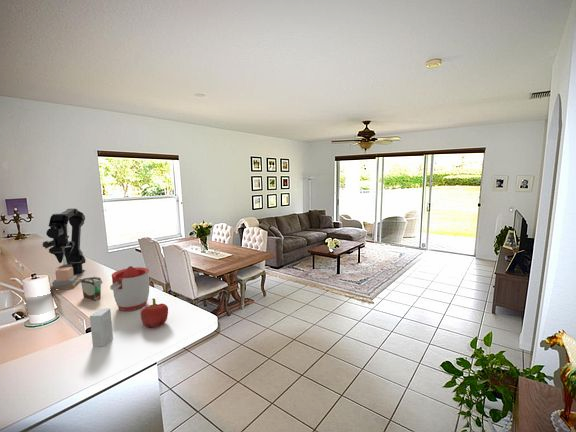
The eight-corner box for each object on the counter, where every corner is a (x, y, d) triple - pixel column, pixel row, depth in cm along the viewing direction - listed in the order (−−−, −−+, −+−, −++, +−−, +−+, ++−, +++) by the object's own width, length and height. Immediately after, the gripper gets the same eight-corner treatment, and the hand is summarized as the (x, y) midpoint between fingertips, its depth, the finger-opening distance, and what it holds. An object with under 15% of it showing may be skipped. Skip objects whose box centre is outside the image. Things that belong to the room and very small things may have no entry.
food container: (108, 297, 144) (107, 278, 142) (96, 301, 138) (94, 282, 137) (94, 293, 149) (92, 275, 148) (81, 297, 143) (80, 278, 142)
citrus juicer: (102, 311, 128) (99, 269, 125) (135, 297, 144) (133, 260, 141) (126, 317, 122) (123, 274, 120) (158, 302, 138) (155, 263, 136)
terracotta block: (61, 277, 160) (60, 267, 159) (73, 276, 162) (72, 266, 161) (56, 281, 154) (55, 271, 154) (69, 280, 156) (68, 270, 155)
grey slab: (58, 281, 161) (58, 277, 161) (77, 279, 165) (76, 275, 164) (52, 286, 153) (52, 282, 152) (72, 284, 156) (72, 280, 156)
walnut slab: (58, 285, 162) (58, 280, 162) (81, 282, 166) (80, 278, 166) (50, 291, 152) (49, 287, 152) (74, 289, 156) (73, 285, 155)
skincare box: (101, 337, 106) (99, 308, 105) (113, 337, 107) (111, 307, 105) (91, 347, 100) (89, 316, 99) (104, 346, 101) (101, 315, 99)
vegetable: (141, 321, 119) (139, 299, 118) (167, 316, 124) (166, 294, 123) (141, 333, 109) (140, 309, 108) (170, 327, 114) (168, 304, 113)
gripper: (52, 233, 168) (54, 257, 170) (35, 238, 151) (38, 266, 152) (73, 232, 172) (76, 256, 174) (60, 237, 154) (63, 264, 156)
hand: (63, 260), depth 164 cm, fingers open, 9 cm apart
